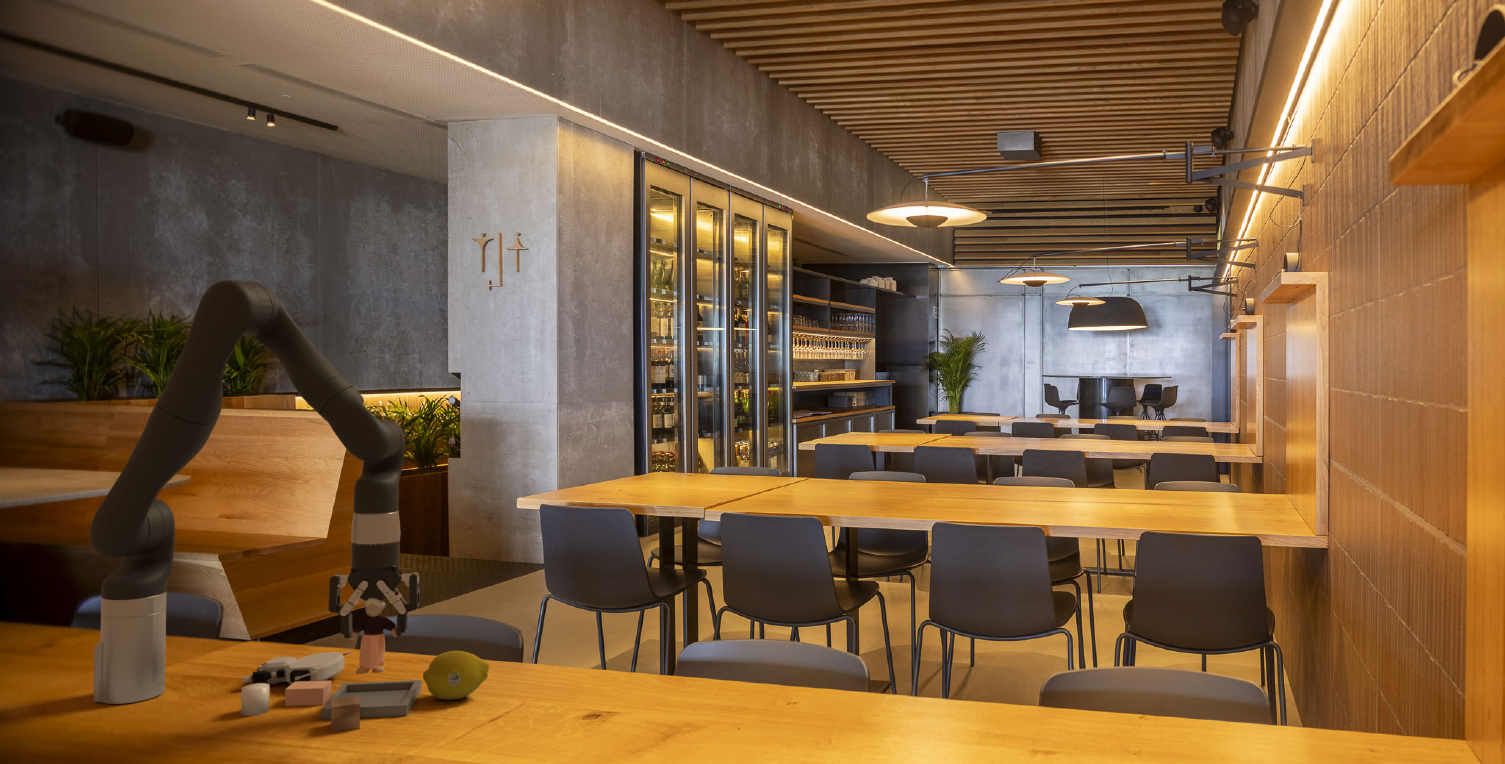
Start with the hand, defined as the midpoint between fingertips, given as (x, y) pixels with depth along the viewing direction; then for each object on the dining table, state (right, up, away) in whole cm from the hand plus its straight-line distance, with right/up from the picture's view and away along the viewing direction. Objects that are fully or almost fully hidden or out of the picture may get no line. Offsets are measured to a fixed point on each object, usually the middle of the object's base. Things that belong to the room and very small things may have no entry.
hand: (374, 636), depth 153 cm
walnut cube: (0, -11, -10) cm, 15 cm away
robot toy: (-18, -12, +11) cm, 24 cm away
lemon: (+13, -12, +3) cm, 17 cm away
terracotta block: (-11, -12, +1) cm, 16 cm away
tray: (0, -11, 0) cm, 11 cm away
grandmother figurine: (0, -6, 0) cm, 6 cm away
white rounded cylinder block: (-18, -11, -4) cm, 21 cm away
